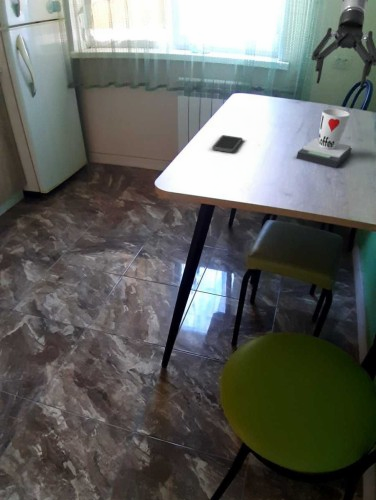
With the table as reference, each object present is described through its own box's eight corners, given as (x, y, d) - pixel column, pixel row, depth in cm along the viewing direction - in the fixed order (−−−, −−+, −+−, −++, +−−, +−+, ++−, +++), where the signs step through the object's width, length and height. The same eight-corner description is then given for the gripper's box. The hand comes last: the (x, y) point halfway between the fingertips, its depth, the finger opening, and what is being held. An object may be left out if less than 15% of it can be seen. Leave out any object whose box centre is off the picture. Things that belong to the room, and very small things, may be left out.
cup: (309, 145, 133) (317, 111, 126) (323, 140, 137) (332, 107, 130) (330, 152, 129) (340, 118, 122) (345, 147, 133) (354, 113, 126)
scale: (349, 154, 136) (352, 146, 134) (335, 168, 126) (338, 159, 125) (312, 145, 141) (314, 137, 139) (296, 158, 131) (298, 149, 129)
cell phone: (242, 139, 142) (243, 137, 141) (233, 153, 132) (233, 150, 131) (222, 136, 143) (222, 134, 143) (211, 149, 133) (211, 147, 133)
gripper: (388, 30, 132) (377, 94, 131) (310, 24, 135) (298, 86, 135) (397, 10, 124) (385, 78, 124) (314, 4, 128) (302, 70, 127)
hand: (340, 82), depth 129 cm, fingers open, 13 cm apart
